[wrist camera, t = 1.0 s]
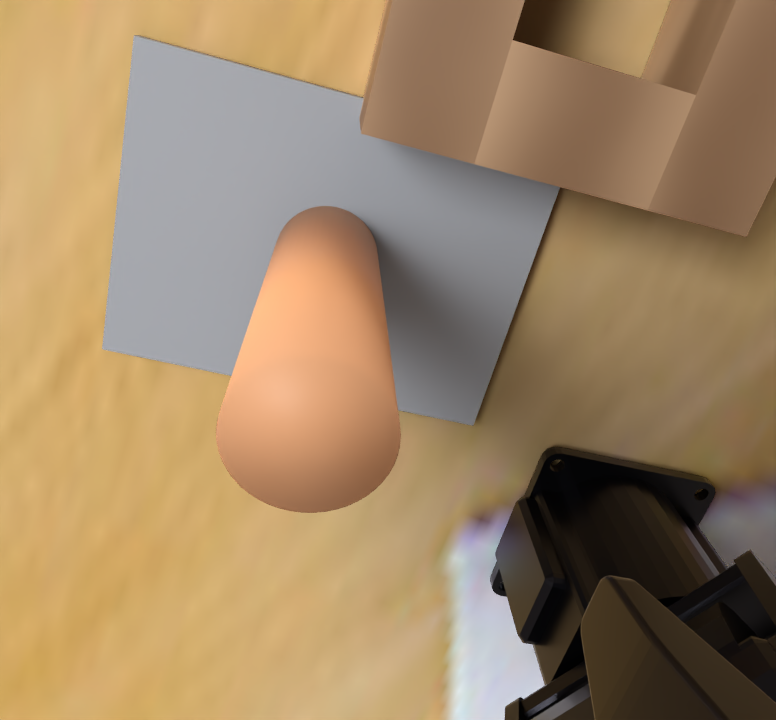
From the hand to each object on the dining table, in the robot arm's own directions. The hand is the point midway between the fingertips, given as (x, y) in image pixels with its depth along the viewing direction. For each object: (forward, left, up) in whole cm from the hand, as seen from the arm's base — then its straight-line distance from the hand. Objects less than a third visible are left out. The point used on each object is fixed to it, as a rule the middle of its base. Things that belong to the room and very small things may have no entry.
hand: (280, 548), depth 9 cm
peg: (0, 0, -13) cm, 13 cm away
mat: (0, 0, -13) cm, 13 cm away
